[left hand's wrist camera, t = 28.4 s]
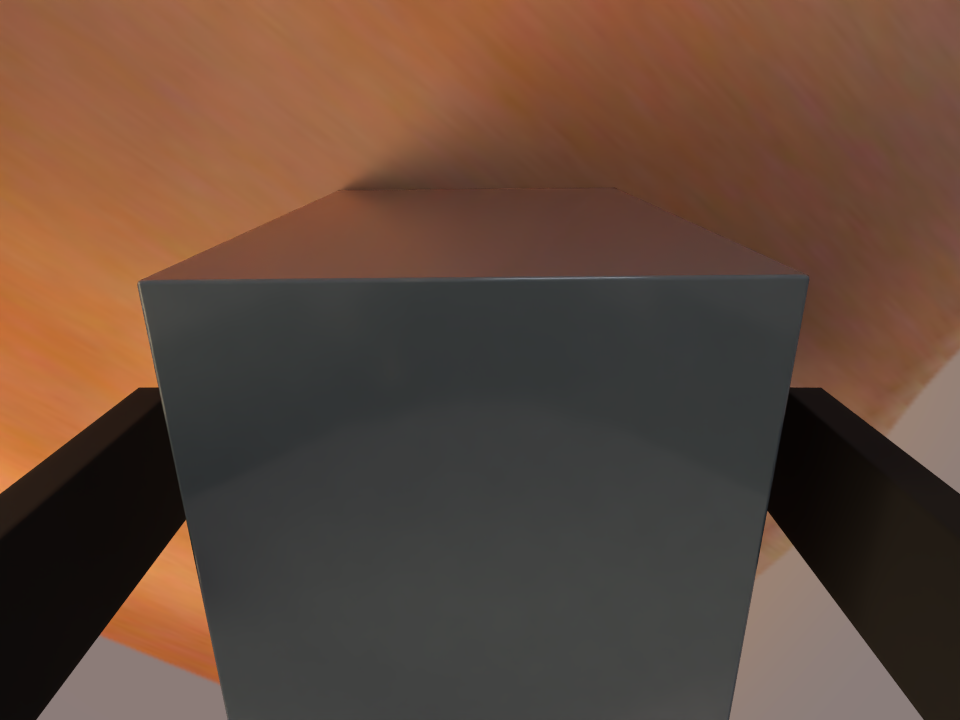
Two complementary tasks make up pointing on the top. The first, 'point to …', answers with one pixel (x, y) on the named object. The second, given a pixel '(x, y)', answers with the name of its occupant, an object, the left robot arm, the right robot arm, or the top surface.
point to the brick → (476, 453)
